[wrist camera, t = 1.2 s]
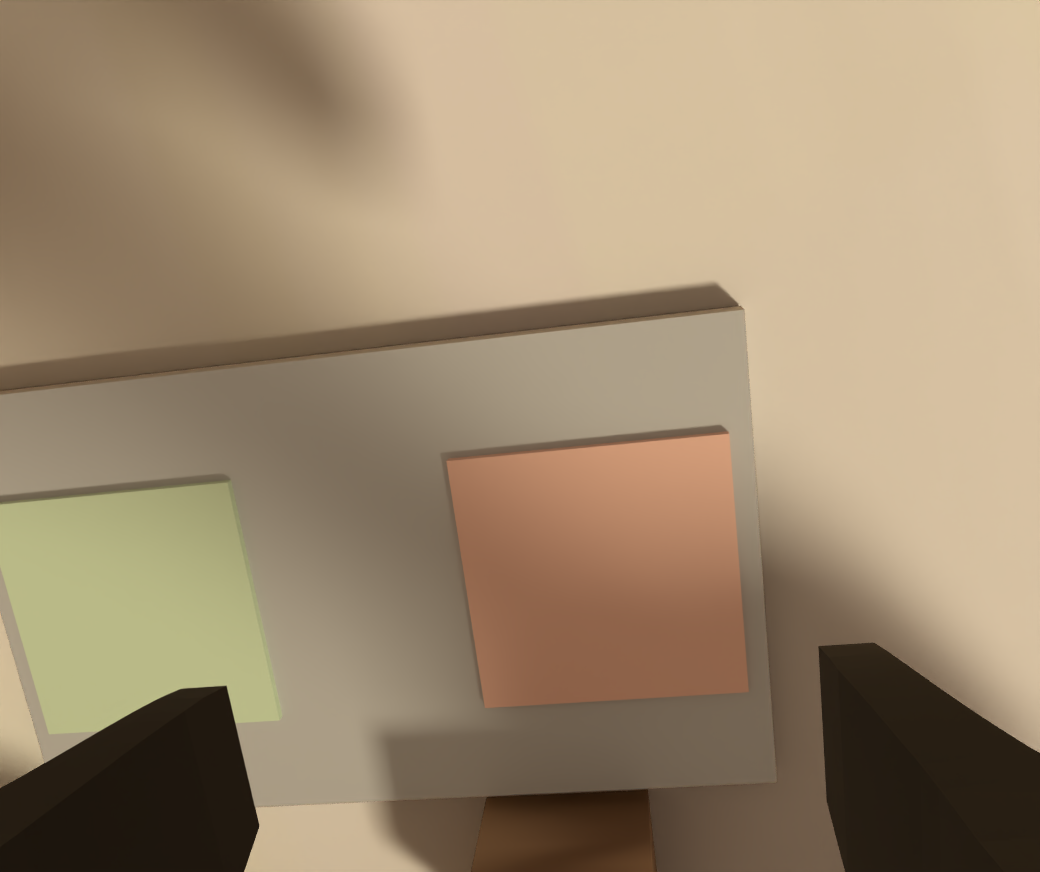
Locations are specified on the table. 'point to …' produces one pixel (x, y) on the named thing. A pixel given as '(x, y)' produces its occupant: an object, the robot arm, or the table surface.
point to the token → (566, 833)
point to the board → (408, 561)
